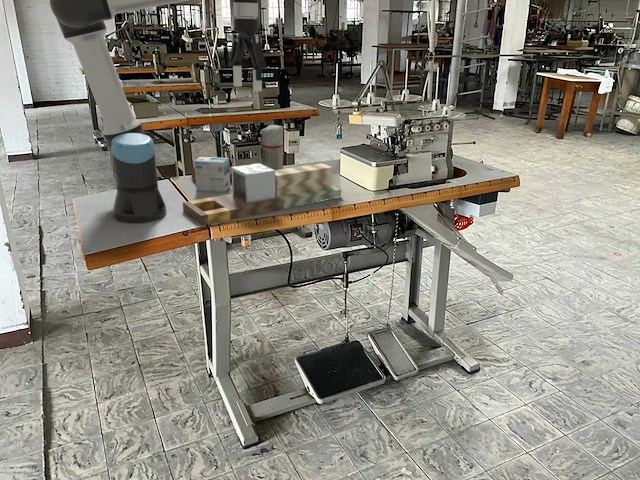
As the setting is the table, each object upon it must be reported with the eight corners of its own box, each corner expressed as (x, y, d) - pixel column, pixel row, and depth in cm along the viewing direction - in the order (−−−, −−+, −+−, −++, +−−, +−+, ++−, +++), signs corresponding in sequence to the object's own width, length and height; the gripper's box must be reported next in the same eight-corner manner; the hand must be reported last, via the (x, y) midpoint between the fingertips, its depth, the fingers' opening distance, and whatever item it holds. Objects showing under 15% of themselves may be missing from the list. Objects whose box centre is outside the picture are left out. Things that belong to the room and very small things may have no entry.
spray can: (282, 181, 194) (282, 128, 186) (260, 180, 194) (260, 127, 187) (284, 175, 202) (285, 123, 194) (263, 174, 202) (263, 123, 194)
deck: (201, 225, 151) (201, 215, 150) (183, 211, 161) (182, 202, 160) (340, 197, 179) (341, 189, 178) (317, 187, 189) (317, 179, 188)
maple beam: (277, 196, 168) (277, 175, 165) (267, 191, 172) (267, 171, 170) (331, 186, 180) (332, 167, 177) (321, 182, 184) (322, 163, 182)
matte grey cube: (247, 204, 160) (246, 174, 156) (232, 195, 167) (231, 167, 164) (275, 199, 165) (275, 170, 162) (259, 191, 173) (259, 163, 169)
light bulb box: (230, 186, 186) (229, 157, 182) (225, 192, 180) (224, 162, 176) (201, 185, 187) (199, 155, 183) (195, 190, 181) (193, 160, 177)
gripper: (277, 19, 154) (277, 92, 163) (238, 17, 173) (240, 84, 181) (254, 18, 150) (255, 93, 158) (217, 17, 169) (220, 84, 177)
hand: (247, 88), depth 170 cm, fingers open, 13 cm apart
